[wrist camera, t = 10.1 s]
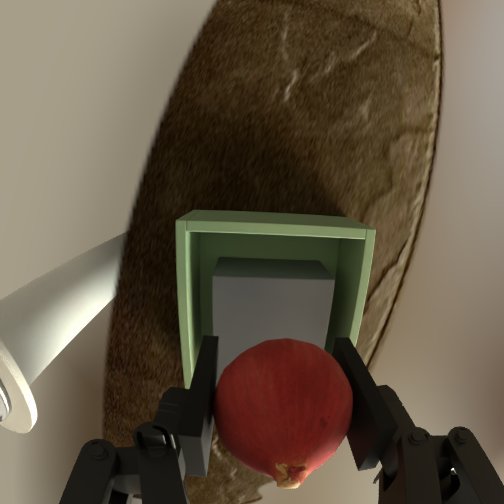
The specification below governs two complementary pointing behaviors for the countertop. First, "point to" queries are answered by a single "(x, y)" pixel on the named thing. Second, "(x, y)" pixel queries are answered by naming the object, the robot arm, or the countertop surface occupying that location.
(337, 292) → the crate
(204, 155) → the countertop surface
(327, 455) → the onion
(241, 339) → the block
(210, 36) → the countertop surface
